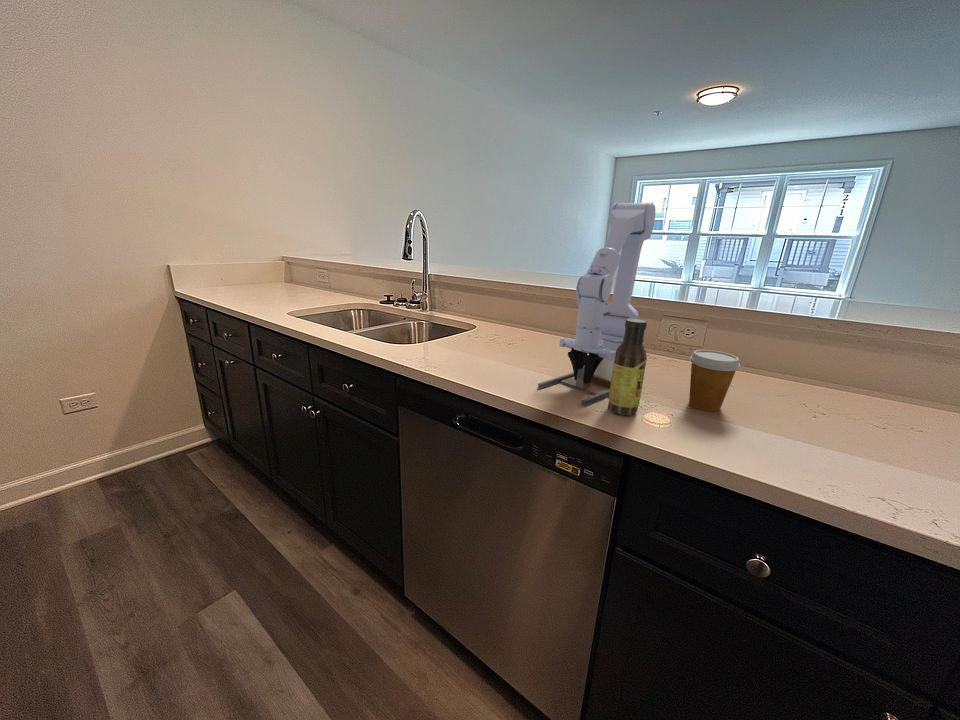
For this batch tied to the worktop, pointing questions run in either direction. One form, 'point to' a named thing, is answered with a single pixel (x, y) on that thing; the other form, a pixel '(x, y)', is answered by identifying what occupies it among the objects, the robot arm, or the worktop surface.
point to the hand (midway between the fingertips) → (582, 381)
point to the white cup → (604, 369)
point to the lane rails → (559, 379)
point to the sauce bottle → (628, 370)
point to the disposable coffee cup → (711, 378)
